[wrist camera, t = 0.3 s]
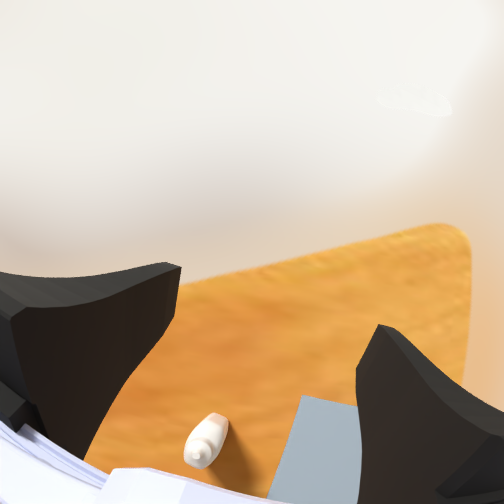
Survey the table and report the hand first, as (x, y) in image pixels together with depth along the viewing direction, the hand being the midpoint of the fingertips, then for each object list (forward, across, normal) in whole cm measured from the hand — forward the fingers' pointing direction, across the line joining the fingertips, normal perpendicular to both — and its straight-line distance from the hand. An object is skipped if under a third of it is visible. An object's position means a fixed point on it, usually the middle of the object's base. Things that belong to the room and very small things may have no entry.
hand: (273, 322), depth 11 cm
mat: (+14, -13, +26) cm, 33 cm away
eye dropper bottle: (+14, +2, +27) cm, 30 cm away
